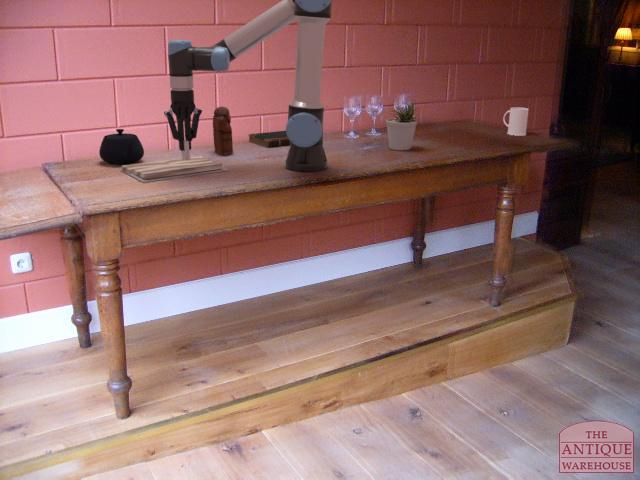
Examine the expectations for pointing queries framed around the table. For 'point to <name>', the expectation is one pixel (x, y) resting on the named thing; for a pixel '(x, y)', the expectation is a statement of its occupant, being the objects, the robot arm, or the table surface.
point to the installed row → (160, 163)
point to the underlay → (173, 175)
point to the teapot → (121, 148)
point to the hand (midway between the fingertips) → (185, 159)
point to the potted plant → (402, 129)
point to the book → (270, 139)
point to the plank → (176, 169)
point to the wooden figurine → (222, 131)
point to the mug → (517, 121)
